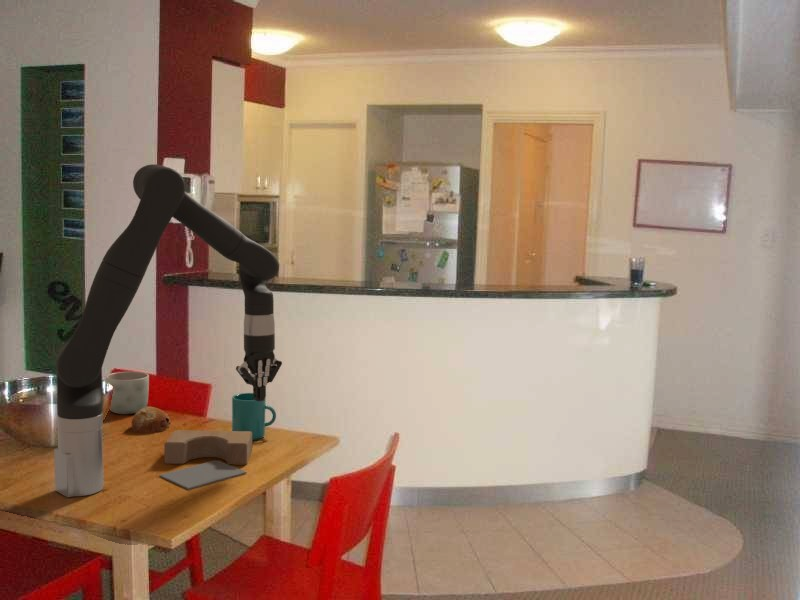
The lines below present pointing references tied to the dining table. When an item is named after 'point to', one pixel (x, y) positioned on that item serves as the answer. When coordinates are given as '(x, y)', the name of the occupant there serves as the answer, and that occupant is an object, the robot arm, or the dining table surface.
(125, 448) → the dining table surface
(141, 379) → the planter
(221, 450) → the decorative block
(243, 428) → the cup
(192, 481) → the mat
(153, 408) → the bread roll
